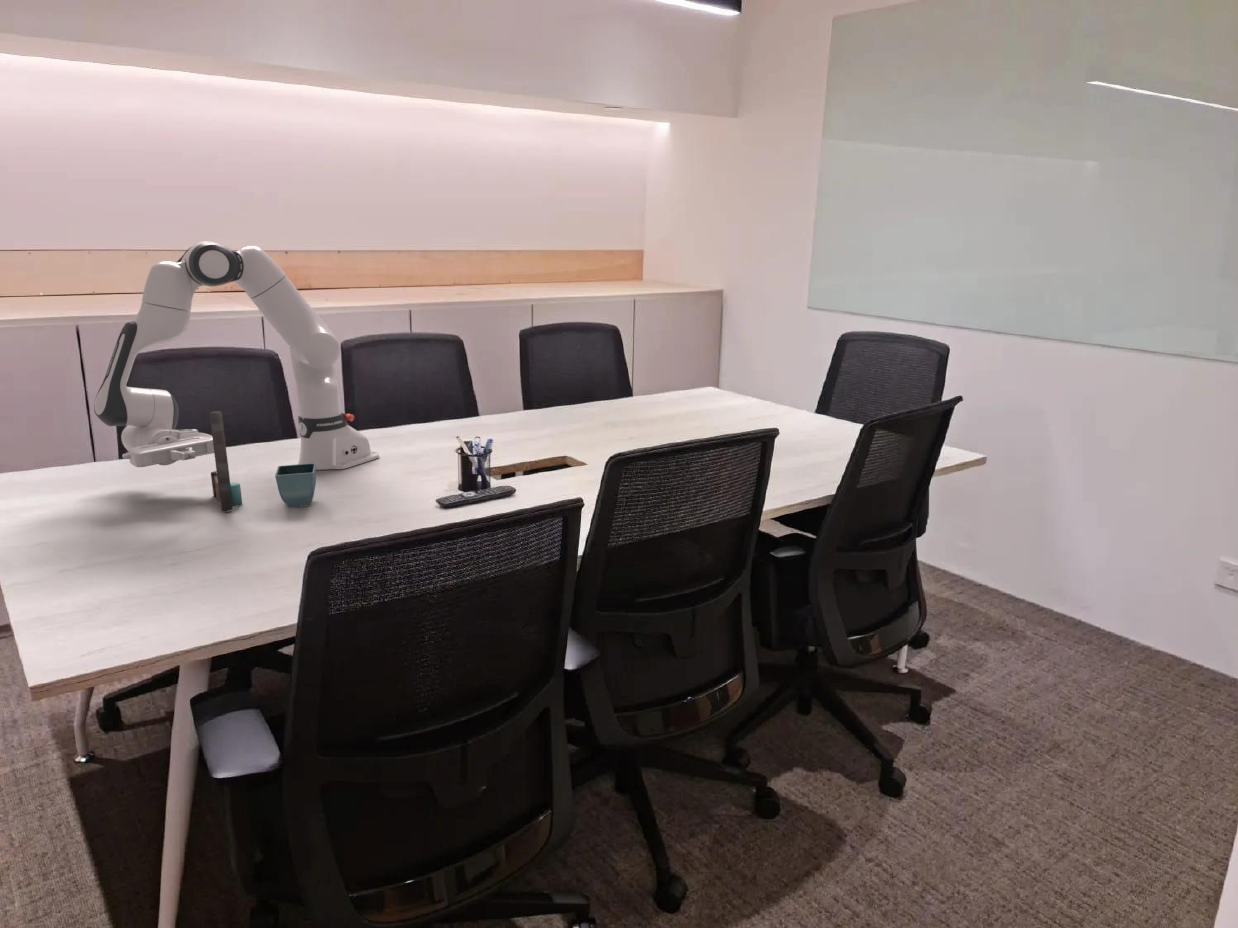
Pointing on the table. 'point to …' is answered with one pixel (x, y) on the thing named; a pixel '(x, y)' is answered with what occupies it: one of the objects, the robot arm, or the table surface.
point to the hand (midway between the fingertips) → (189, 456)
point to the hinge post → (213, 482)
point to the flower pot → (296, 484)
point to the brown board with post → (221, 462)
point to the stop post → (236, 494)
